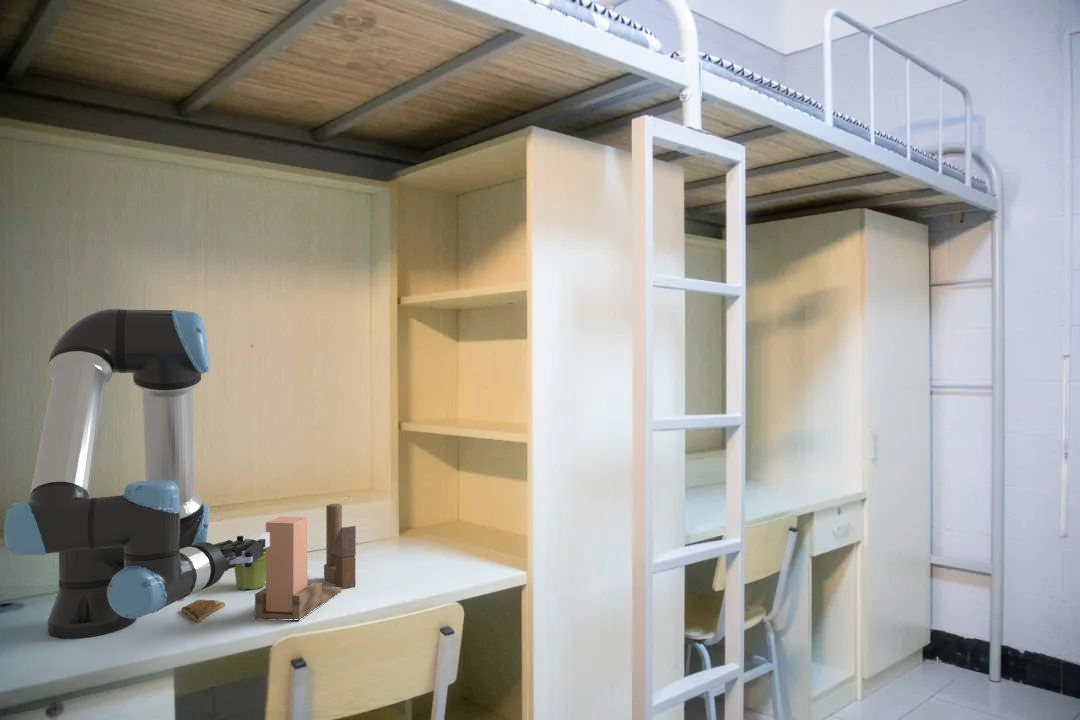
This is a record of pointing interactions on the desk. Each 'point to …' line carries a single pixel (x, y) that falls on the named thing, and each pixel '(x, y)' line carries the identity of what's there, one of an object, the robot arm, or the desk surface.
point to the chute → (297, 602)
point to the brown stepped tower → (339, 549)
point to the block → (285, 562)
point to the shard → (202, 609)
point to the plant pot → (251, 574)
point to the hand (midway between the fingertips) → (266, 539)
